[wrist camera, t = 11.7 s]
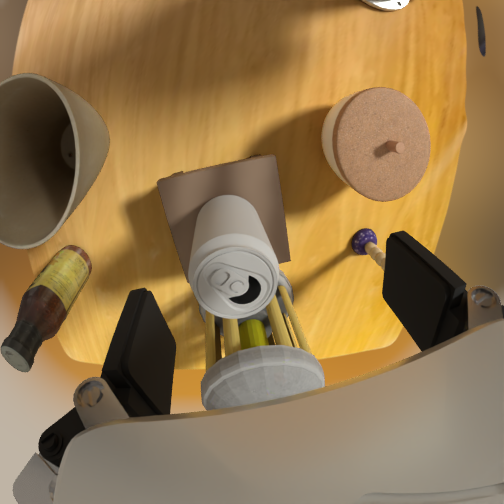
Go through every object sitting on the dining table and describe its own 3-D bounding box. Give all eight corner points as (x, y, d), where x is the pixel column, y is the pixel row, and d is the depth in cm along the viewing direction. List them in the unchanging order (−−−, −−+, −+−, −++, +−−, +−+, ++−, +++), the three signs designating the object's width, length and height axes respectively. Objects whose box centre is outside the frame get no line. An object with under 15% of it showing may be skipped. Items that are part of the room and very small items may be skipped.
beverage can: (233, 260, 31) (244, 336, 20) (184, 229, 29) (168, 296, 18) (270, 216, 29) (303, 276, 19) (221, 180, 27) (225, 222, 16)
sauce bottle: (60, 237, 34) (-15, 323, 16) (96, 251, 36) (32, 349, 18) (58, 273, 36) (-3, 363, 18) (91, 286, 38) (40, 386, 20)
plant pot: (151, 94, 28) (101, 76, 14) (123, 207, 33) (71, 268, 19) (54, 82, 24) (-26, 77, 10) (35, 186, 30) (-37, 229, 16)
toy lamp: (380, 243, 41) (445, 304, 26) (359, 262, 42) (416, 330, 27) (367, 222, 39) (437, 281, 24) (344, 242, 40) (405, 310, 25)
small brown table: (263, 149, 33) (275, 155, 26) (277, 236, 38) (290, 261, 32) (167, 170, 32) (156, 182, 26) (191, 255, 38) (187, 283, 32)
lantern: (292, 252, 40) (369, 401, 17) (291, 327, 46) (337, 461, 24) (191, 264, 38) (177, 433, 16) (207, 338, 45) (212, 482, 23)
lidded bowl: (402, 153, 35) (453, 169, 25) (338, 199, 37) (378, 230, 27) (362, 76, 29) (412, 68, 19) (288, 122, 31) (319, 123, 22)
